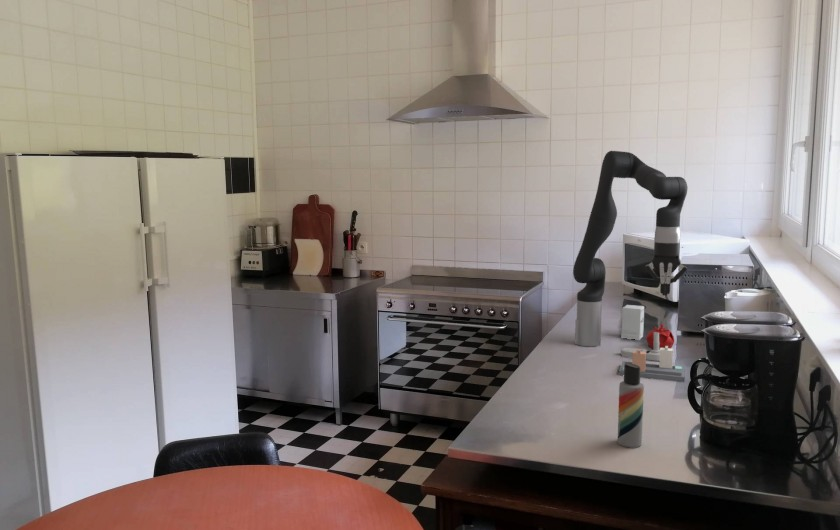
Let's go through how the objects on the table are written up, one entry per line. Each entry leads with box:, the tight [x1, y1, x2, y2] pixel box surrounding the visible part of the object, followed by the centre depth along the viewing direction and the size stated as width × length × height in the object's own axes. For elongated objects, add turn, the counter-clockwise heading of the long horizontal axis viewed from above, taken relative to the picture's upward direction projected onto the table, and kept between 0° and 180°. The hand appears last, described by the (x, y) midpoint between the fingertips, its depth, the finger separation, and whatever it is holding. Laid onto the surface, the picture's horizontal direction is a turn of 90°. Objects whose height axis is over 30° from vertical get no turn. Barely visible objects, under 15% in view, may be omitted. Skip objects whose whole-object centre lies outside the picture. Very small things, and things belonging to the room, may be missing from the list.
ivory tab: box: [658, 346, 674, 369], centre depth 221 cm, size 4×3×7 cm
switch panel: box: [618, 360, 686, 382], centre depth 220 cm, size 20×12×2 cm, turn 68°
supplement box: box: [620, 304, 645, 341], centre depth 266 cm, size 7×7×13 cm
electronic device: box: [620, 332, 660, 362], centre depth 238 cm, size 5×10×15 cm
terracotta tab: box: [631, 348, 647, 372], centre depth 218 cm, size 4×3×7 cm
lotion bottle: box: [617, 364, 645, 449], centre depth 163 cm, size 6×6×20 cm
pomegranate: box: [645, 323, 675, 350], centre depth 250 cm, size 10×10×9 cm
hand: (664, 295), depth 212 cm, fingers closed
